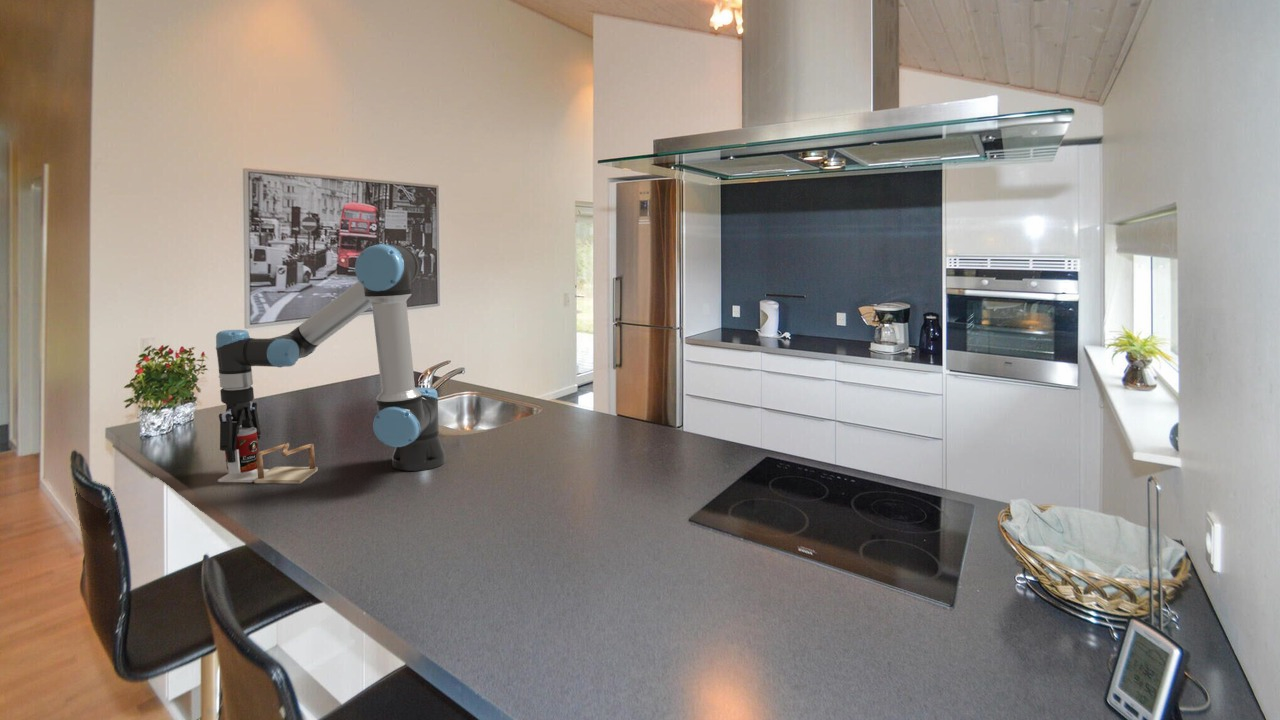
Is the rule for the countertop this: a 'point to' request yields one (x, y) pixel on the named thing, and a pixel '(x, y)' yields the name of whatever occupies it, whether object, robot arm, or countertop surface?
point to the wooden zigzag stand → (285, 473)
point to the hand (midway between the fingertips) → (243, 467)
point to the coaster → (241, 476)
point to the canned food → (247, 449)
